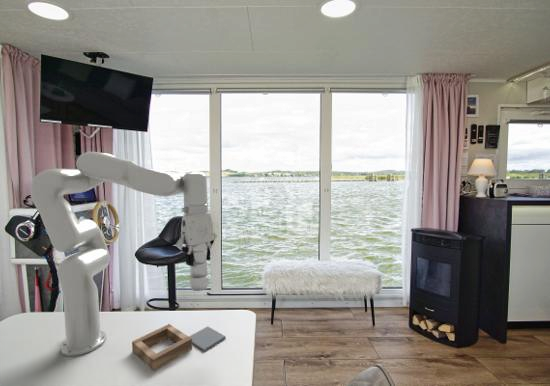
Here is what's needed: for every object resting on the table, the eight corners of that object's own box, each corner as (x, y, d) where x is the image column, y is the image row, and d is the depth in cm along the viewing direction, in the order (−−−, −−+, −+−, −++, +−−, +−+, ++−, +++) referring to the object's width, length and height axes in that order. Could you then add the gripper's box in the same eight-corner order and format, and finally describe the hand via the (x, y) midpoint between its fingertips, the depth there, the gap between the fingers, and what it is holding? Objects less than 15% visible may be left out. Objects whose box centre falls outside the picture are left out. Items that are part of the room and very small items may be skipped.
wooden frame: (132, 351, 88) (132, 341, 88) (169, 333, 98) (169, 323, 98) (153, 371, 79) (153, 359, 79) (192, 348, 89) (191, 338, 89)
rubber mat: (186, 340, 94) (186, 337, 94) (207, 328, 101) (207, 326, 101) (204, 351, 88) (204, 349, 88) (225, 338, 95) (225, 336, 95)
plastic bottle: (204, 294, 88) (201, 233, 87) (185, 292, 90) (182, 233, 88) (212, 285, 95) (210, 229, 93) (195, 284, 96) (192, 229, 95)
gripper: (178, 213, 81) (181, 272, 82) (223, 207, 94) (225, 257, 96) (165, 212, 86) (168, 267, 87) (210, 206, 99) (212, 254, 101)
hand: (198, 261), depth 92 cm, fingers closed on plastic bottle, 6 cm apart
